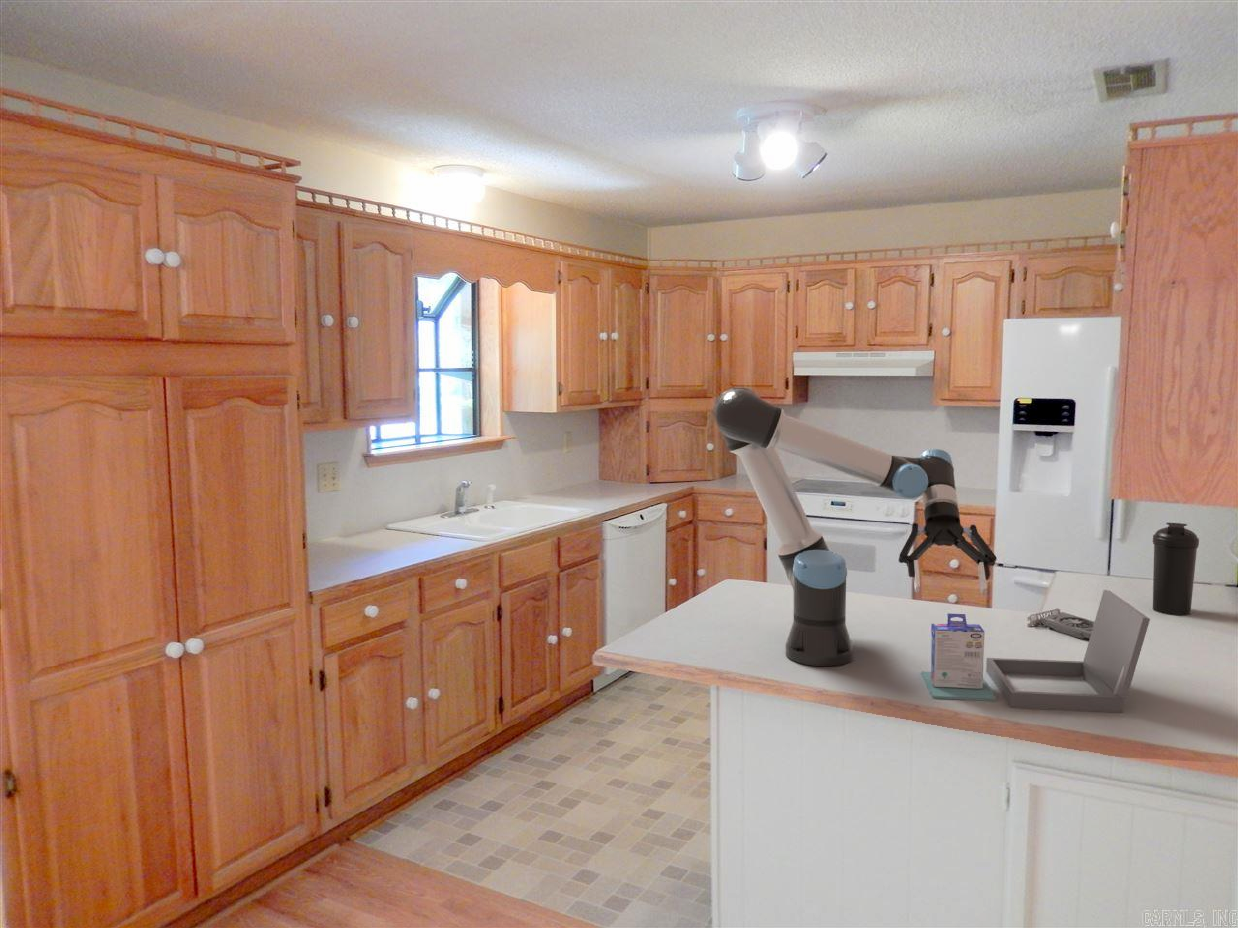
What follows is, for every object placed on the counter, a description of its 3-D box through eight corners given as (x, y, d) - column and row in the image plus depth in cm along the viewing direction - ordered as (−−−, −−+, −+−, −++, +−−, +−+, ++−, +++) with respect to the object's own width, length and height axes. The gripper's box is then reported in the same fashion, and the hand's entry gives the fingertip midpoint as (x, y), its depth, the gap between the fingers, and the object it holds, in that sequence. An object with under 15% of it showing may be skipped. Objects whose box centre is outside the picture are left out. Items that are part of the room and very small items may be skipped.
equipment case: (1010, 707, 172) (1014, 613, 169) (986, 671, 191) (989, 586, 189) (1144, 713, 168) (1150, 617, 165) (1105, 675, 187) (1109, 589, 185)
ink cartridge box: (978, 680, 185) (980, 612, 183) (984, 690, 179) (986, 620, 178) (928, 678, 187) (930, 611, 185) (933, 687, 181) (935, 619, 179)
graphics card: (1024, 614, 222) (1057, 606, 227) (1023, 628, 223) (1057, 620, 228) (1083, 633, 207) (1118, 624, 212) (1083, 648, 207) (1117, 639, 212)
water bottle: (1194, 608, 234) (1199, 523, 231) (1194, 618, 226) (1200, 529, 223) (1149, 603, 240) (1154, 519, 237) (1148, 612, 231) (1153, 526, 228)
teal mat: (932, 698, 177) (932, 695, 177) (921, 673, 191) (921, 671, 191) (996, 700, 175) (996, 698, 175) (979, 675, 189) (979, 673, 189)
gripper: (995, 519, 204) (1008, 601, 191) (883, 517, 208) (888, 596, 195) (1001, 500, 198) (1016, 583, 185) (886, 498, 202) (892, 579, 190)
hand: (950, 590), depth 190 cm, fingers open, 13 cm apart
